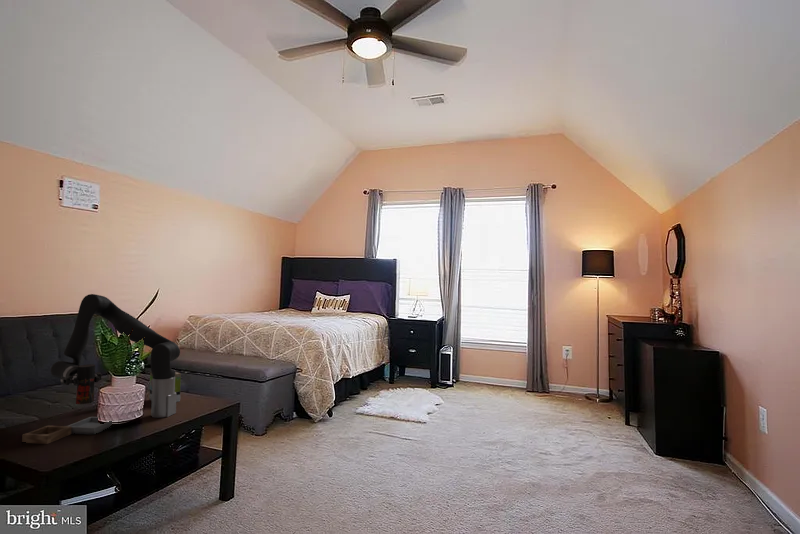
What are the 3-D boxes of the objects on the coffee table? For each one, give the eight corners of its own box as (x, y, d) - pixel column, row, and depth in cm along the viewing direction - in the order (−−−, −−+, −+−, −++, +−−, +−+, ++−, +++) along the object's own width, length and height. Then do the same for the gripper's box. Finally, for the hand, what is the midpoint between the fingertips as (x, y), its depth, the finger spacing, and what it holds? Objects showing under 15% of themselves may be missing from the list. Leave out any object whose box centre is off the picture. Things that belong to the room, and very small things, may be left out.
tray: (118, 423, 182) (118, 417, 182) (94, 434, 169) (94, 428, 169) (90, 422, 183) (90, 416, 183) (64, 433, 170) (64, 426, 170)
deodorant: (72, 403, 172) (74, 366, 173) (89, 399, 177) (90, 363, 178) (80, 405, 169) (82, 367, 170) (96, 401, 175) (98, 365, 175)
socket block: (71, 434, 169) (71, 426, 169) (47, 443, 158) (47, 435, 158) (47, 432, 170) (47, 425, 170) (22, 442, 159) (22, 434, 159)
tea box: (148, 400, 219) (149, 371, 219) (168, 396, 226) (169, 368, 227) (159, 405, 209) (160, 375, 210) (180, 401, 217) (181, 372, 217)
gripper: (55, 368, 177) (66, 374, 167) (95, 364, 188) (108, 369, 178) (54, 386, 177) (65, 393, 166) (95, 380, 188) (108, 387, 178)
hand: (87, 381), depth 172 cm, fingers closed on deodorant, 6 cm apart
